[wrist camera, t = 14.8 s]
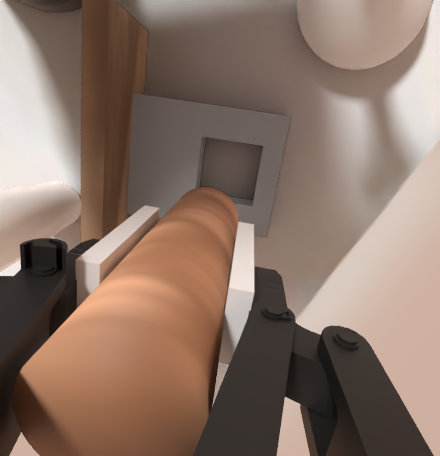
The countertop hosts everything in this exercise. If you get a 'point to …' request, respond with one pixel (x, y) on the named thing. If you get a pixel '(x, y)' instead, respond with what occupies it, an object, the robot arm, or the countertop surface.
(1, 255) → the drinking glass
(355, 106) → the countertop surface
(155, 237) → the dowel
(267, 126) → the holed block
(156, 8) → the countertop surface
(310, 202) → the countertop surface
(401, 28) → the flower in vase
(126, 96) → the backstop board
